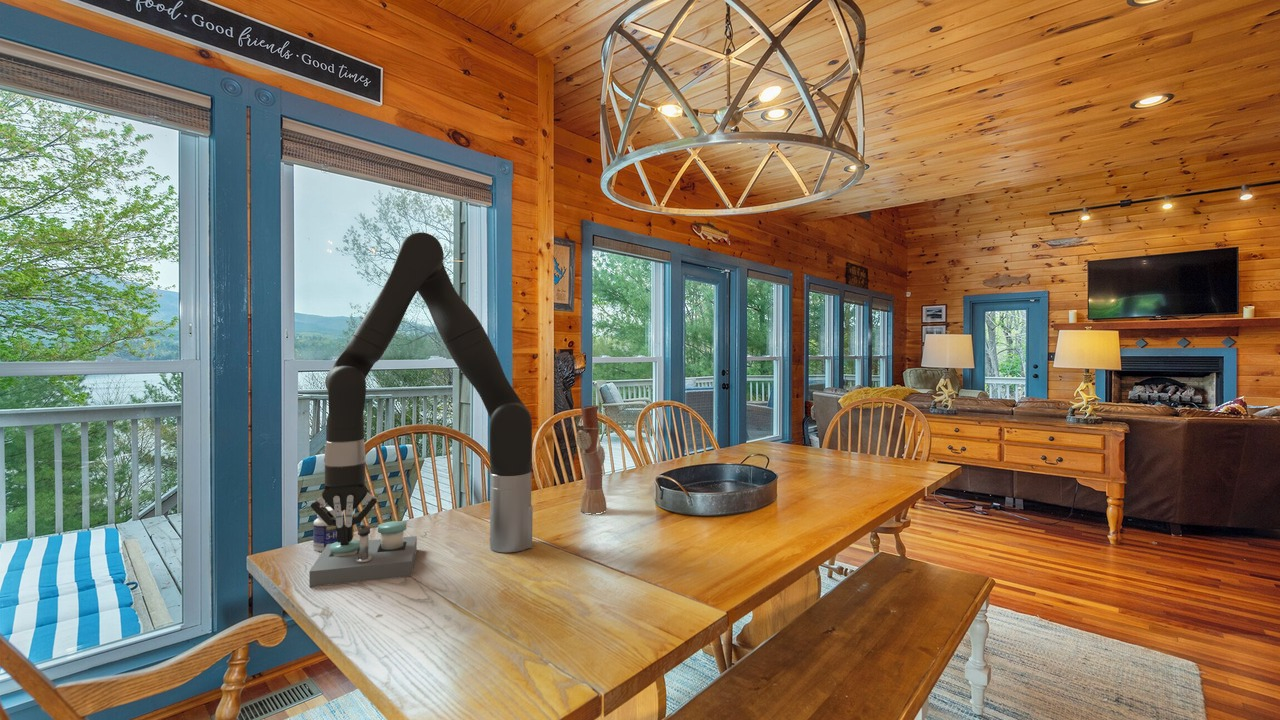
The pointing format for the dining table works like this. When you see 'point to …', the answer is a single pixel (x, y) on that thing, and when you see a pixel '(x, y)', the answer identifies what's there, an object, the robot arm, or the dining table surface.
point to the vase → (591, 461)
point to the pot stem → (364, 544)
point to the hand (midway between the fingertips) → (345, 543)
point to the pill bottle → (323, 532)
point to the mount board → (364, 564)
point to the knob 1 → (345, 548)
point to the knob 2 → (392, 534)
